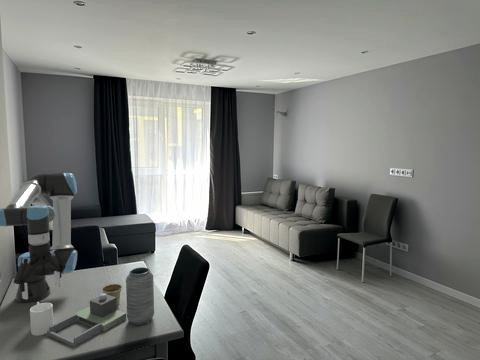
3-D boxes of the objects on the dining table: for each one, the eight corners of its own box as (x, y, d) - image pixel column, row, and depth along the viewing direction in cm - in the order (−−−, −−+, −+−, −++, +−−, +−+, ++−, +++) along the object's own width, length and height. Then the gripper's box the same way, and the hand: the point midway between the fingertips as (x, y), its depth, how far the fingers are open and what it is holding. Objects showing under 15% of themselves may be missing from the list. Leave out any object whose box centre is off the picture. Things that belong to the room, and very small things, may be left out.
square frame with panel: (44, 333, 134) (43, 309, 133) (96, 308, 156) (95, 287, 155) (75, 347, 125) (74, 322, 124) (126, 318, 147) (125, 296, 146)
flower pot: (115, 310, 154) (115, 293, 153) (98, 308, 156) (97, 291, 155) (126, 301, 163) (125, 284, 163) (109, 299, 165) (109, 283, 164)
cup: (48, 319, 146) (47, 297, 145) (56, 330, 137) (54, 307, 136) (27, 325, 140) (26, 303, 139) (33, 337, 132) (32, 314, 131)
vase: (128, 329, 138) (126, 277, 136) (126, 316, 148) (124, 268, 146) (156, 323, 142) (155, 273, 140) (152, 311, 153) (151, 264, 151)
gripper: (11, 252, 122) (15, 306, 124) (72, 236, 144) (75, 283, 146) (1, 249, 125) (4, 302, 127) (62, 234, 147) (64, 279, 149)
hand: (42, 292), depth 136 cm, fingers open, 13 cm apart
